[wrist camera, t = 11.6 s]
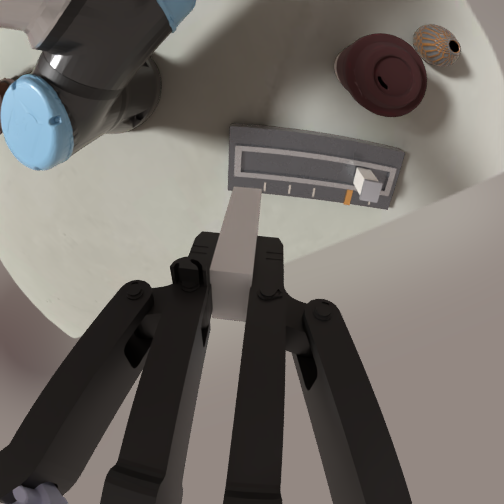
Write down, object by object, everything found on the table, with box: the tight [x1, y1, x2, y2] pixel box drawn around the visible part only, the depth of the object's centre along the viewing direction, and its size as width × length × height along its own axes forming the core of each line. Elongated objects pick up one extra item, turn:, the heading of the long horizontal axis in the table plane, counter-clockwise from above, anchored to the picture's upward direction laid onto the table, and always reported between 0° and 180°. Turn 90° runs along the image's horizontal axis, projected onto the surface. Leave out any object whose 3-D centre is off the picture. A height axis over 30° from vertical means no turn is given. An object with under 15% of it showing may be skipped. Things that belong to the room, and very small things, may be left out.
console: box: [228, 123, 405, 210], centre depth 43 cm, size 28×11×3 cm, turn 86°
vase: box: [413, 24, 461, 66], centre depth 25 cm, size 7×7×9 cm
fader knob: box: [353, 167, 383, 203], centre depth 40 cm, size 3×3×6 cm
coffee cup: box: [334, 33, 427, 117], centre depth 27 cm, size 10×10×15 cm
